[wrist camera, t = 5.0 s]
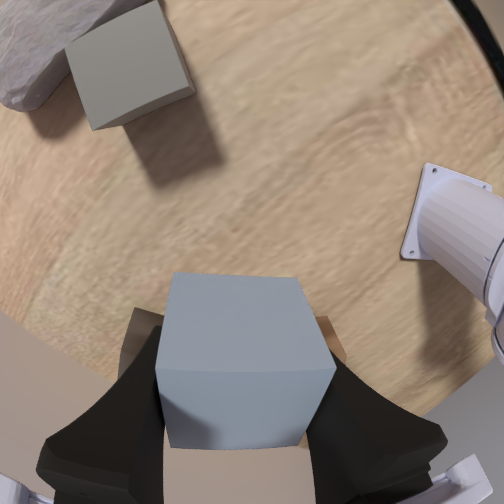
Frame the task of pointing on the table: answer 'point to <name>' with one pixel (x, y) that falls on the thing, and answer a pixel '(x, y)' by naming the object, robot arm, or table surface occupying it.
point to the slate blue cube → (239, 362)
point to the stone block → (45, 44)
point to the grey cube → (129, 67)
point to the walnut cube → (331, 338)
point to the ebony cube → (137, 335)
